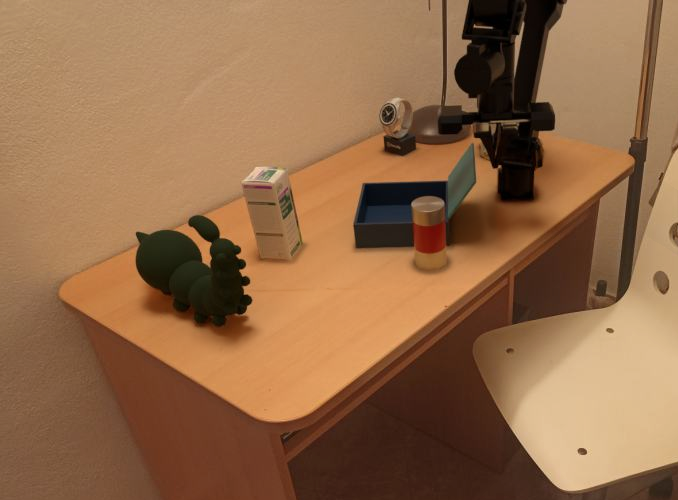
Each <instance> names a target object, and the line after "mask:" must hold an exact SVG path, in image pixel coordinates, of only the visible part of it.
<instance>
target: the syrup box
mask: <svg viewBox="0 0 678 500" xmlns="http://www.w3.org/2000/svg"><path fill="white" fill-rule="evenodd" d="M240 184H241V188H242V192H243V195H244V199H245V203H246V207H247V211H248V216H249V219H250V223H251V227H252V230H253V234H254V238H255V242H256V247H257V250H258V253H259V257H260V259H261V260H264V259H274V260H275V259H277V260H287V261H291V260H292V259H293V257H294V256H295V255H296V254H297V253H298V251H299V250H300V248H301V247H302V246H303V244H304V242H303V238H302V232H301V228H300V224H299V218H298V213H297V209H296V204H295V200H294V199H295V198H294V194H293V189H292V185H291V180H290V175H289V170H288V168H286V167H279V166H255V167H254V170H253V171H251V172H250V173H249V174H248V175H247V176H246V177H245V178H244V179H243V180H242V181H240Z"/></svg>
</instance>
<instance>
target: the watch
mask: <svg viewBox="0 0 678 500" xmlns="http://www.w3.org/2000/svg"><path fill="white" fill-rule="evenodd" d="M401 103H402V104H403V106H404V112H403V116H401V110H400V109H401ZM413 110H414V109H413V105H412V103H411V102H410V101H409V100H408V99H404V98H401V97H392V98H391V99H389V100H388V101H387V102H386V103H384V104H383V105H382V106H381V108H380V110H379V114H378V117H379V123H380V124H381V128H382V130H383V131H384V133H385V135H383V147H384V148H383V149H384V151H387V152H389V153H394V154H396V155H399V156H405V155H407V154H409V153H412V152H414V151H415V150H417V142H416V134H412V133H409V131H410V130H411V127H412V124H413V119H414V111H413ZM401 119H402V120H401ZM400 120H401V123H400V129H399V130H398V129H396V130H395V128H396V125H397V124H398V122H399V121H400Z"/></svg>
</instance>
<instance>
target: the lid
mask: <svg viewBox="0 0 678 500" xmlns="http://www.w3.org/2000/svg"><path fill="white" fill-rule="evenodd" d="M447 181H448V218H449V220H450V219H451V218H452V216H454V214H455V212H456V211H457V210H458V208H459V207H460V206H461V204H462V202H463V201H464V200H465V199H466V197H467V196H468V195H469V193H471V191H472V189H473V188H474V186H475V185H476V183H477V169H476V153H475V143H474V142H471V143H470V144H469V146H468V147H467V149H466V150H465V152H464V153H463V155H462V156H461V157H460V159H459V160H458V161H457V163H456V164H455V166H454V167H453V169H452V170H451V172H450V173H449V174H448V176H447Z"/></svg>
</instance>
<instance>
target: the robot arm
mask: <svg viewBox="0 0 678 500" xmlns="http://www.w3.org/2000/svg"><path fill="white" fill-rule="evenodd" d="M567 2H568V0H468V2H467V8H466V12H465V18H464V23H463V26H462V27H463V28H462V33H461V40H463V41H471V42H470V43H468V44H467V45H466V53H464V55H462V56H461V57H460V58H459V59H458V60H457V62H456V64H455V67H454V71H453V75H454V81H455V82H456V85H457V87H458V88H459V89H460V90H461V91H462V92H464V93H465V94H467V99H476V108H477V111H468V112H467V111H464V112H463V105H461V104H460V105H459V104H458V105H441V106H440V107H439V108H438V109H437V133H438V135H441V136H444V135H446V136H447V135H458V134H460V133H461V131H463V126H472V132H473V138H474V139H479V140H480V141H481V142H482V143H483V145H484V147H485V149H486V151H487V153H488V156H489V159H490V160H489V162H490V164H491V168H492V169H493V170H495V169H496V170H497V171H496V191H497V194H498V195H499V197H500V201H501V202H502V201H503V202H504V201H507V202H508V201H534V200H535V198H536V196H535V191H534V190H535V172H536V171H537V169H540V168H543V167H544V157H545V156H544V151H545V150H544V146H543V145H542V144H541V142H540V138H539V134H540V132H552V131H554V130H555V128H556V113H555V110H554V108H553V105H552V103H550V102H549V101H541V102H540V101H539V102H537V98H538V92H539V87H540V82H541V76H542V72H543V71H542V70H543V65H544V60H545V54H546V50H547V44H548V40H549V33H550V31H551V30H552V29H553V28H554V26H555V25H556V24H557V22H558V21H559V20H560V19H561V17H562V14H563V10H564V6H565V5H566V4H567ZM522 27H523V28H522ZM521 30H522V34H521ZM520 34H521V40H520V45H519V50H518V55H517V62H516V63H515V61H516V59H515V58H516V39H517V37H518V36H520ZM515 64H516V66H515ZM491 124H496V129H495V132H494V133H493V135H492V132H491ZM499 166H500V167H499Z"/></svg>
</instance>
